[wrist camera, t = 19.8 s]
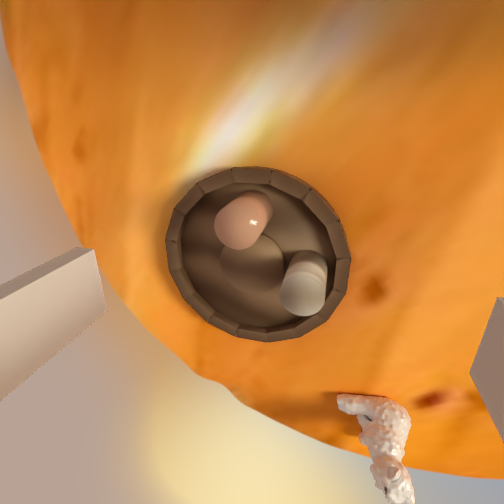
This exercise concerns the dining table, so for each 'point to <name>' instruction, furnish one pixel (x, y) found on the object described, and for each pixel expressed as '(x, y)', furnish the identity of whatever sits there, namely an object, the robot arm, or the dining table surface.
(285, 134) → the dining table surface
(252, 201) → the pinkish brown egg
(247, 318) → the groove tray
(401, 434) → the seated beast figurine
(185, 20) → the dining table surface
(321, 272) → the cream bead
